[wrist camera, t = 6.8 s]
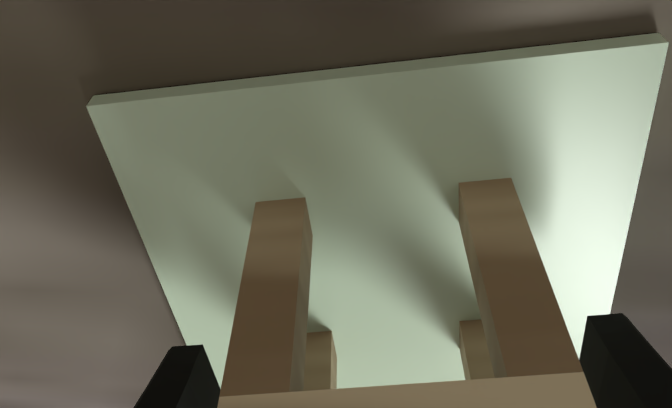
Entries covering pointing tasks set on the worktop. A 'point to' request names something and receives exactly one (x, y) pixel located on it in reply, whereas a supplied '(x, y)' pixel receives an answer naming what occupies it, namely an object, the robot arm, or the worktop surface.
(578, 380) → the stool
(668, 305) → the worktop surface
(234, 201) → the mat
